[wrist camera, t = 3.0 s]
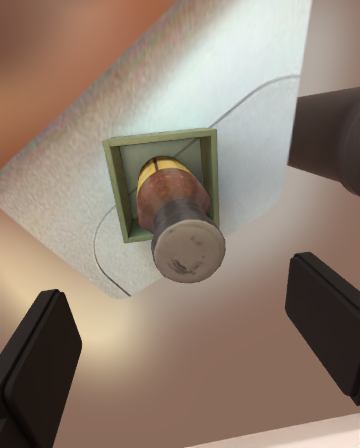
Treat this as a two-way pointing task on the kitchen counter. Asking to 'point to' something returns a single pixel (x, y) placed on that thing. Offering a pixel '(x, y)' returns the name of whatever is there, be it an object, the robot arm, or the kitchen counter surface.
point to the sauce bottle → (178, 221)
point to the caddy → (207, 137)
